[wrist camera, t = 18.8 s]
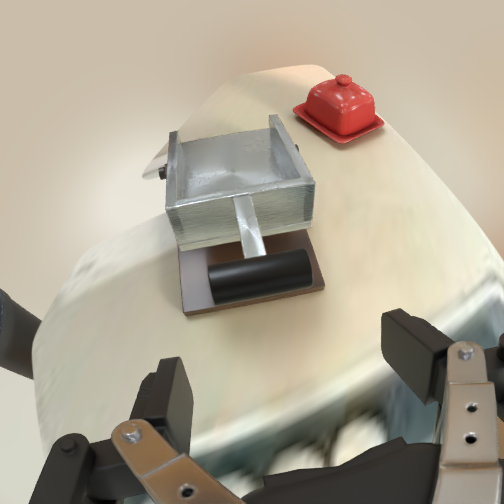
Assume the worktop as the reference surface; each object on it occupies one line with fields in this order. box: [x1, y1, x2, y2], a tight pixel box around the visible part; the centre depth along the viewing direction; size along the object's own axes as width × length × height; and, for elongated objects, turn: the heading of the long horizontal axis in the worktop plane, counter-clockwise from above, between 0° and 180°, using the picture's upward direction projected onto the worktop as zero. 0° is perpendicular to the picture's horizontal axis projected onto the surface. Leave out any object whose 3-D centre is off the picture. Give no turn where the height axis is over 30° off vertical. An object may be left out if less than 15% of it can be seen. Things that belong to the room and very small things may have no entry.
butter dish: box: [293, 74, 384, 144], centre depth 43 cm, size 12×12×8 cm
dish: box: [165, 114, 315, 306], centre depth 24 cm, size 22×10×5 cm, turn 11°
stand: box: [159, 144, 325, 316], centre depth 31 cm, size 13×14×9 cm
